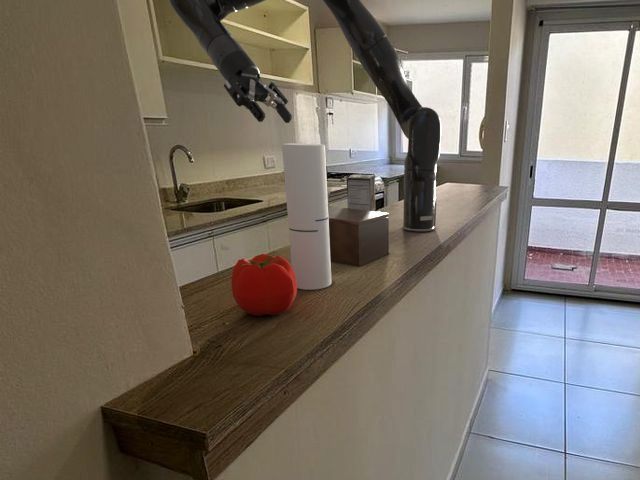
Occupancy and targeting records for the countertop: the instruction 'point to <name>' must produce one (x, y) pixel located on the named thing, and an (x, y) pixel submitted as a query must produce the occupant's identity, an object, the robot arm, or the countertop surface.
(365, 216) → the lid
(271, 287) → the tomato
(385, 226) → the chest
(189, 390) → the countertop surface
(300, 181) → the cylindrical container
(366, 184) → the coffee box
